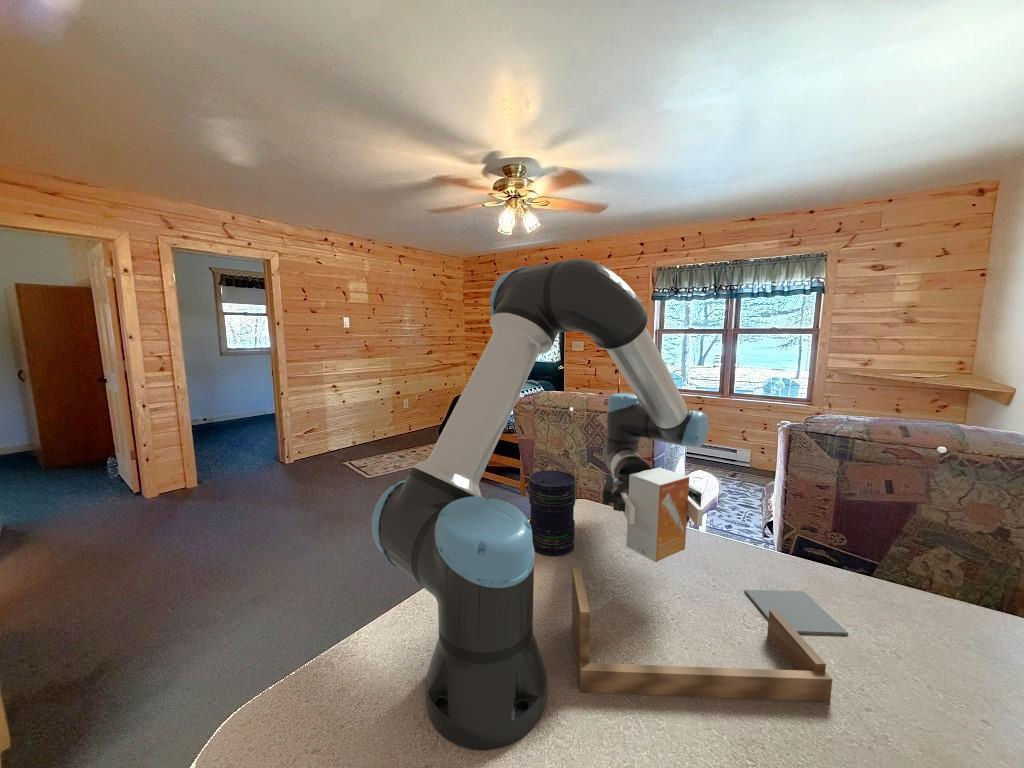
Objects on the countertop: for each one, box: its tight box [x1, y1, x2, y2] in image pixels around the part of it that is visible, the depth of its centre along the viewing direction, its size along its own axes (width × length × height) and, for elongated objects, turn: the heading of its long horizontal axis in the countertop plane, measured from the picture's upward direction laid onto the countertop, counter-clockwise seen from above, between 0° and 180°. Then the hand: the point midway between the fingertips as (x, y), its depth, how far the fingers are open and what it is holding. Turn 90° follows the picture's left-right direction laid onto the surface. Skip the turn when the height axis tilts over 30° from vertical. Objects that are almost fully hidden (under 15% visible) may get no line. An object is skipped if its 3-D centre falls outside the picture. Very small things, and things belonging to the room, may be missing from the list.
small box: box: [625, 466, 690, 563], centre depth 69 cm, size 8×6×13 cm
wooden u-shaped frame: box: [571, 567, 833, 703], centre depth 55 cm, size 30×11×10 cm, turn 87°
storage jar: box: [528, 469, 576, 558], centre depth 87 cm, size 10×10×15 cm
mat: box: [744, 589, 849, 636], centre depth 66 cm, size 10×10×1 cm
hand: (666, 517), depth 65 cm, fingers closed on small box, 10 cm apart
